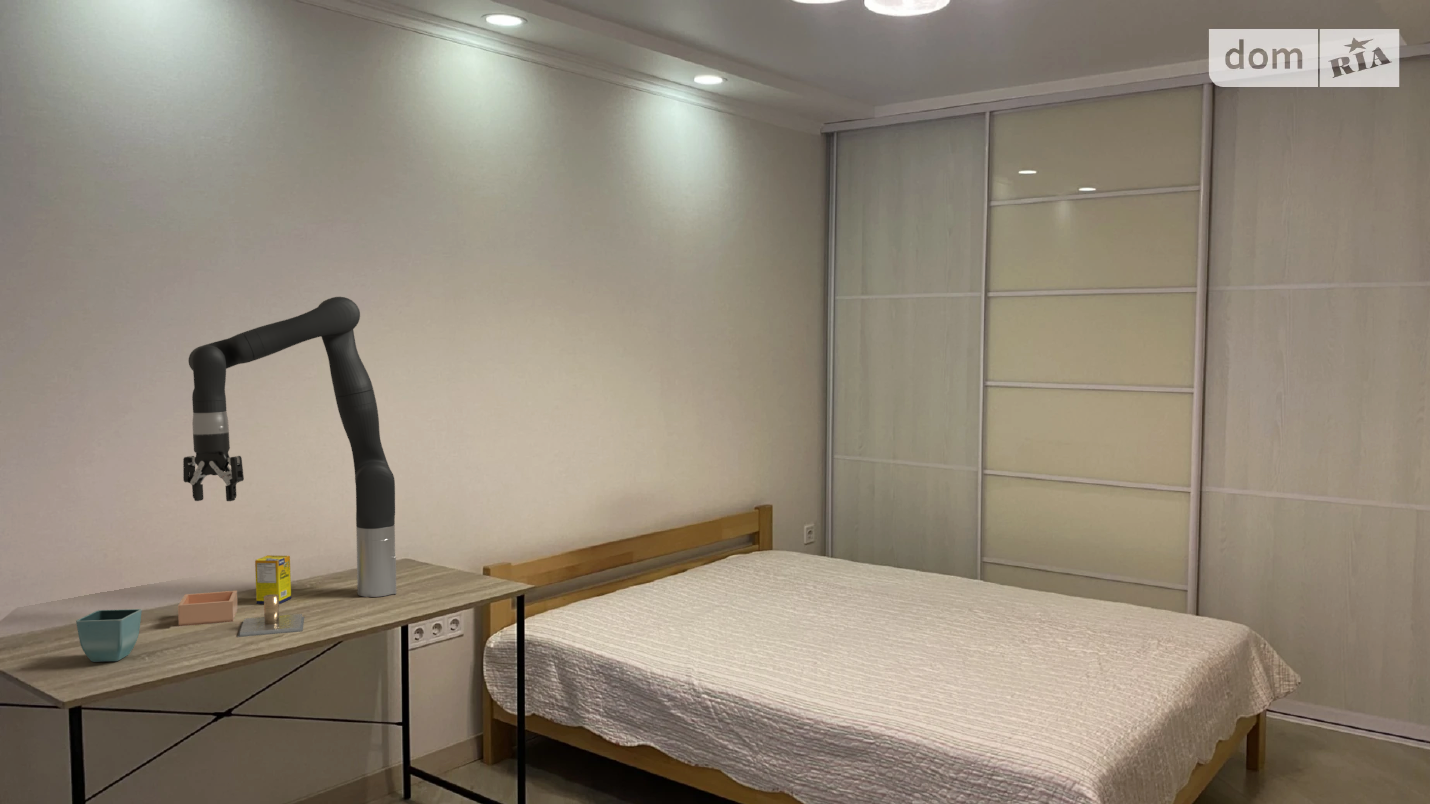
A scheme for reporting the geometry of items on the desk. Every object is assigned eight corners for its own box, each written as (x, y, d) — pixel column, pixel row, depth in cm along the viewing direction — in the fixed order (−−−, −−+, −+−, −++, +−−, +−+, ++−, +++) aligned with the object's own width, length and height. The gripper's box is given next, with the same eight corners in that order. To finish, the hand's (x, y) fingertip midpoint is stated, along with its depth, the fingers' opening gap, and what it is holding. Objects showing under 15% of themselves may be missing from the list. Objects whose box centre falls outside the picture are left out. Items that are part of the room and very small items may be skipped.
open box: (237, 611, 243) (237, 590, 242) (233, 623, 232) (232, 601, 232) (185, 615, 239) (185, 594, 239) (178, 627, 229) (178, 605, 228)
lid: (302, 617, 236) (301, 587, 236) (300, 630, 225) (299, 600, 224) (244, 622, 232) (243, 592, 231) (239, 636, 221) (239, 604, 220)
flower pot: (99, 652, 210) (97, 609, 210) (144, 651, 211) (142, 608, 210) (76, 666, 201) (74, 620, 201) (123, 664, 202) (121, 619, 202)
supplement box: (291, 598, 255) (290, 555, 254) (279, 604, 249) (278, 560, 248) (268, 598, 256) (267, 554, 255) (255, 604, 250) (254, 559, 249)
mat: (304, 618, 237) (304, 616, 237) (302, 632, 224) (302, 631, 224) (242, 623, 232) (242, 621, 232) (237, 638, 220) (237, 636, 220)
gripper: (248, 429, 241) (252, 498, 242) (195, 430, 244) (199, 497, 245) (226, 433, 234) (230, 503, 235) (172, 433, 237) (176, 503, 238)
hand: (214, 500), depth 240 cm, fingers open, 8 cm apart
